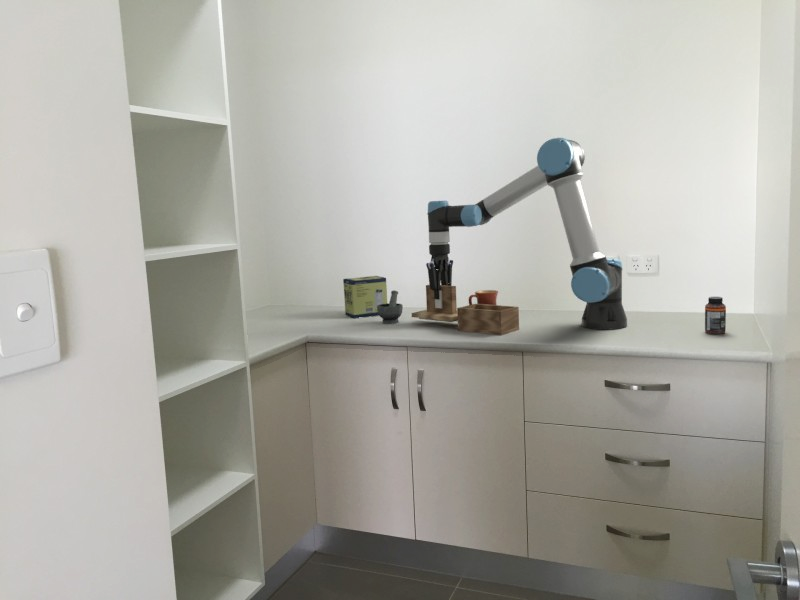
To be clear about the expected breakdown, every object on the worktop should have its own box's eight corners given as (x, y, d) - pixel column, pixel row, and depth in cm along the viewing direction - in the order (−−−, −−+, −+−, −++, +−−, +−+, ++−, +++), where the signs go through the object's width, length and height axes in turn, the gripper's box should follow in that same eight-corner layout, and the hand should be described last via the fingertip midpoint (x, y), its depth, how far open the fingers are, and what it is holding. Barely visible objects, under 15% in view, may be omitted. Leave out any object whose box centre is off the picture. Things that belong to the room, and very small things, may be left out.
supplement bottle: (707, 330, 217) (708, 295, 215) (727, 331, 213) (728, 296, 212) (702, 333, 212) (702, 298, 211) (722, 335, 209) (723, 299, 207)
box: (519, 329, 233) (518, 306, 232) (501, 335, 225) (501, 311, 224) (476, 325, 245) (475, 303, 244) (458, 330, 237) (457, 308, 236)
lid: (472, 318, 247) (471, 284, 246) (452, 323, 239) (451, 288, 237) (431, 314, 260) (430, 282, 258) (411, 319, 251) (410, 286, 249)
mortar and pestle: (396, 325, 253) (394, 293, 251) (373, 324, 257) (372, 293, 255) (408, 320, 263) (407, 289, 261) (386, 319, 267) (385, 289, 265)
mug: (491, 315, 265) (490, 289, 264) (503, 318, 257) (502, 291, 256) (464, 318, 261) (463, 292, 259) (475, 321, 253) (474, 294, 251)
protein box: (344, 315, 282) (342, 278, 280) (378, 311, 289) (377, 275, 287) (353, 318, 273) (351, 280, 271) (388, 314, 279) (386, 277, 277)
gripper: (444, 241, 254) (446, 303, 257) (417, 245, 242) (420, 309, 245) (460, 242, 249) (462, 305, 252) (433, 245, 237) (436, 311, 240)
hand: (441, 307), depth 249 cm, fingers closed on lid, 2 cm apart
